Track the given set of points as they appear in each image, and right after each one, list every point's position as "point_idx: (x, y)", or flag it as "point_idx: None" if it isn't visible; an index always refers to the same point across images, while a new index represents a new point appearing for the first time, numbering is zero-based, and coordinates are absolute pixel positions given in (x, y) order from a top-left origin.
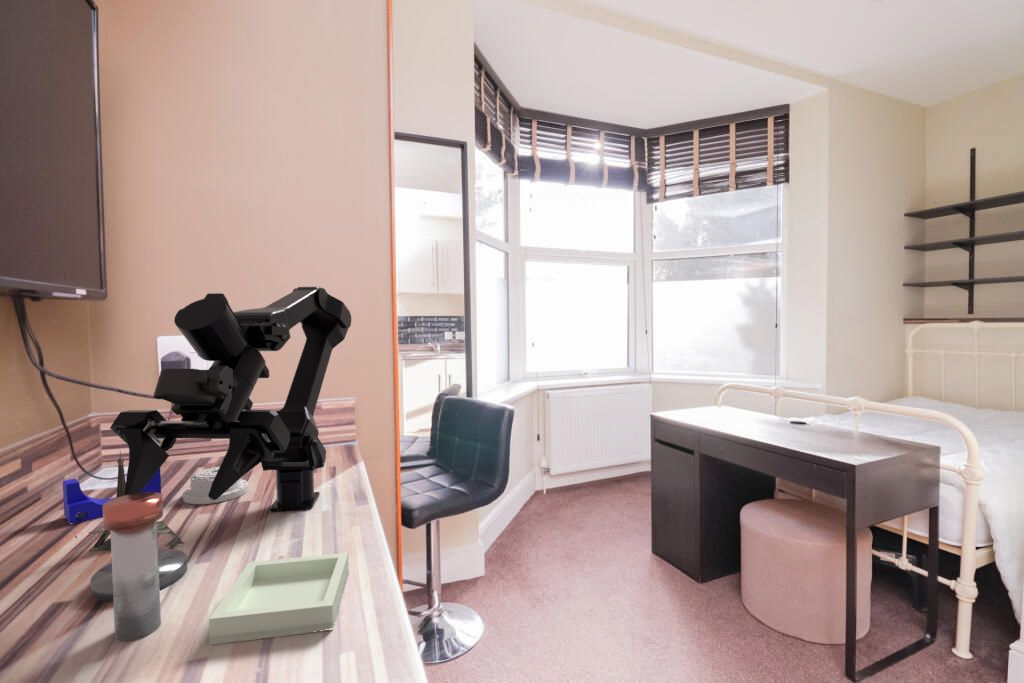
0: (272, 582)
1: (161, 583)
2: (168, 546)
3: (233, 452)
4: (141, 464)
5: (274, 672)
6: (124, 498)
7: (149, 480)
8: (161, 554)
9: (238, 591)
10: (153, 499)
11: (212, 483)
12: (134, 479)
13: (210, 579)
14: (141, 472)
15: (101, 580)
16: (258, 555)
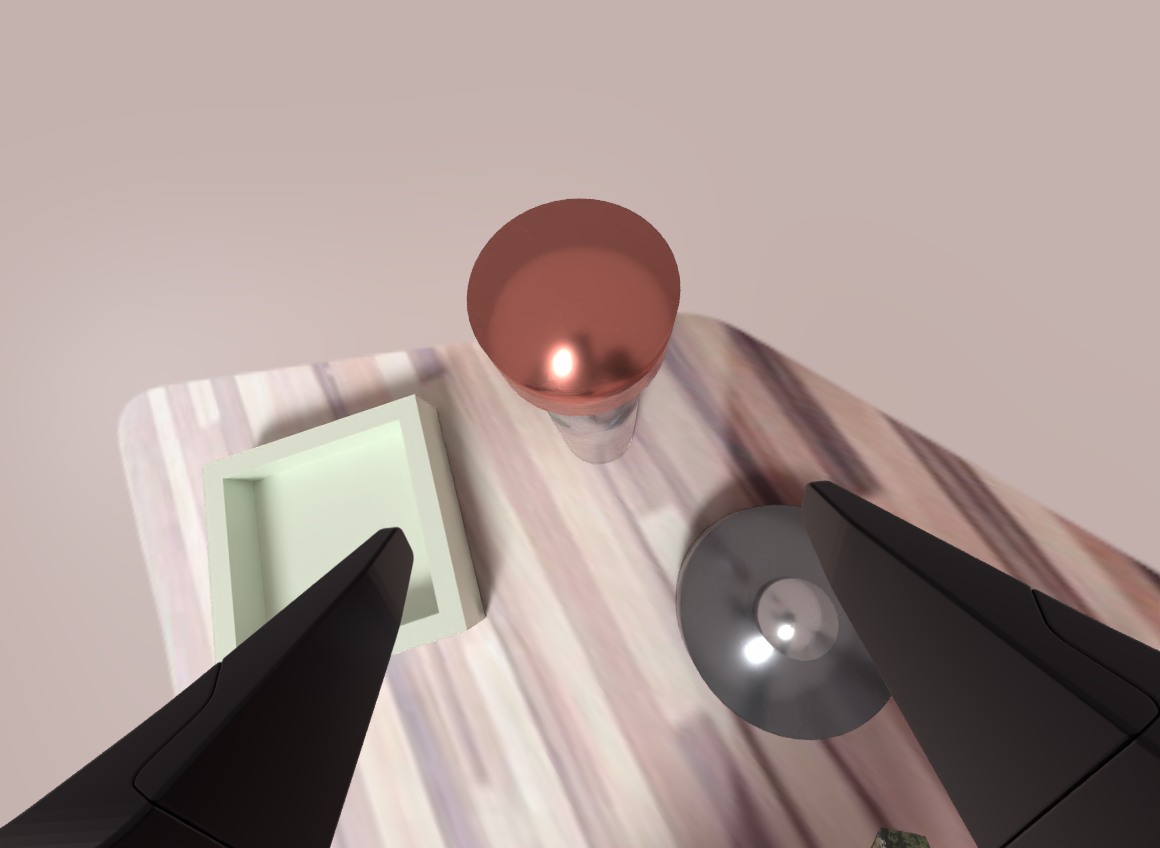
0: (409, 597)
1: (682, 569)
2: (904, 832)
3: (110, 778)
4: (967, 643)
5: (303, 369)
6: (632, 298)
7: (877, 669)
8: (804, 698)
9: (414, 490)
10: (487, 309)
11: (368, 566)
12: (862, 536)
13: (596, 627)
14: (911, 618)
15: None
16: (554, 780)
